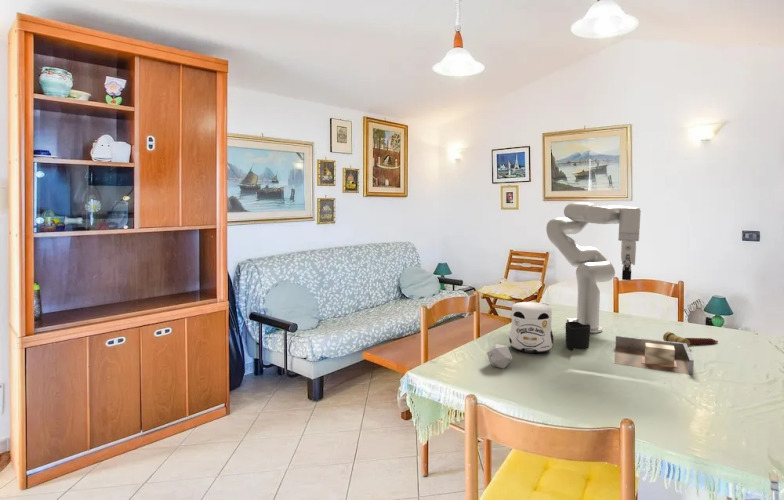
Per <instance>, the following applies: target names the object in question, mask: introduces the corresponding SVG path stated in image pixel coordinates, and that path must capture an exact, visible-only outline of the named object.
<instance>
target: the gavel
mask: <svg viewBox="0 0 784 500" xmlns="http://www.w3.org/2000/svg"><path fill="white" fill-rule="evenodd" d="M662 339H663V340H662V341H670V342H679V343H686V344H687V346H688V348H689V349H690V346H691V345H714V344H716V343H718V342H719V340H716V339H714V338H710V337H708V338H707V337H705V338H704V337H700V338H699V337H681V336H679V335H676V334H675V333H673V332H671V331H667V332H665V333H664V334H663V336H662Z"/></svg>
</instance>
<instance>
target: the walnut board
mask: <svg viewBox="0 0 784 500" xmlns="http://www.w3.org/2000/svg"><path fill="white" fill-rule="evenodd" d="M614 365H619V366H620V365H621V366H627V367H635V368H642V369H647V370H648V369H649V370H656V371H662V372H669V373H677V374H683V375H684V374H685V375H692V374H689V373H688V371H687V368H686V365H685V363H684V360H683V357H681V356H675V357H674V366H668V365H661V364H653V363H646V362H645V352H641V351H633V350H625V349H617V348H614ZM692 376H693V375H692Z"/></svg>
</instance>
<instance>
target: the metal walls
mask: <svg viewBox="0 0 784 500" xmlns="http://www.w3.org/2000/svg"><path fill="white" fill-rule="evenodd" d="M645 343H653V344H662V345H670V346H674V349H675V356H681V357H683V360H684V363H685V365H686V368H687V371H688V373H689V374H688V375H691V374H692V376H693V375H694V364H695V363H694V362H695V361H694V358H693V356H692V353H691V351H690V347H689V348H688V346H687V344H686V343H679V342H670V341H664V340H661V339H660V340H659V339H651V338H641V337H633V336H624V335H615V343H614V344H615V345H614V347H615V348H617V349H625V350H633V351H641V352H645ZM615 348H614V349H615Z"/></svg>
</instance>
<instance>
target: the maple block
mask: <svg viewBox="0 0 784 500" xmlns="http://www.w3.org/2000/svg"><path fill="white" fill-rule="evenodd" d="M674 357H675V349H674V346H670V345H662V344H653V343H645V362H646V363H653V364H661V365H668V366H674Z"/></svg>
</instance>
